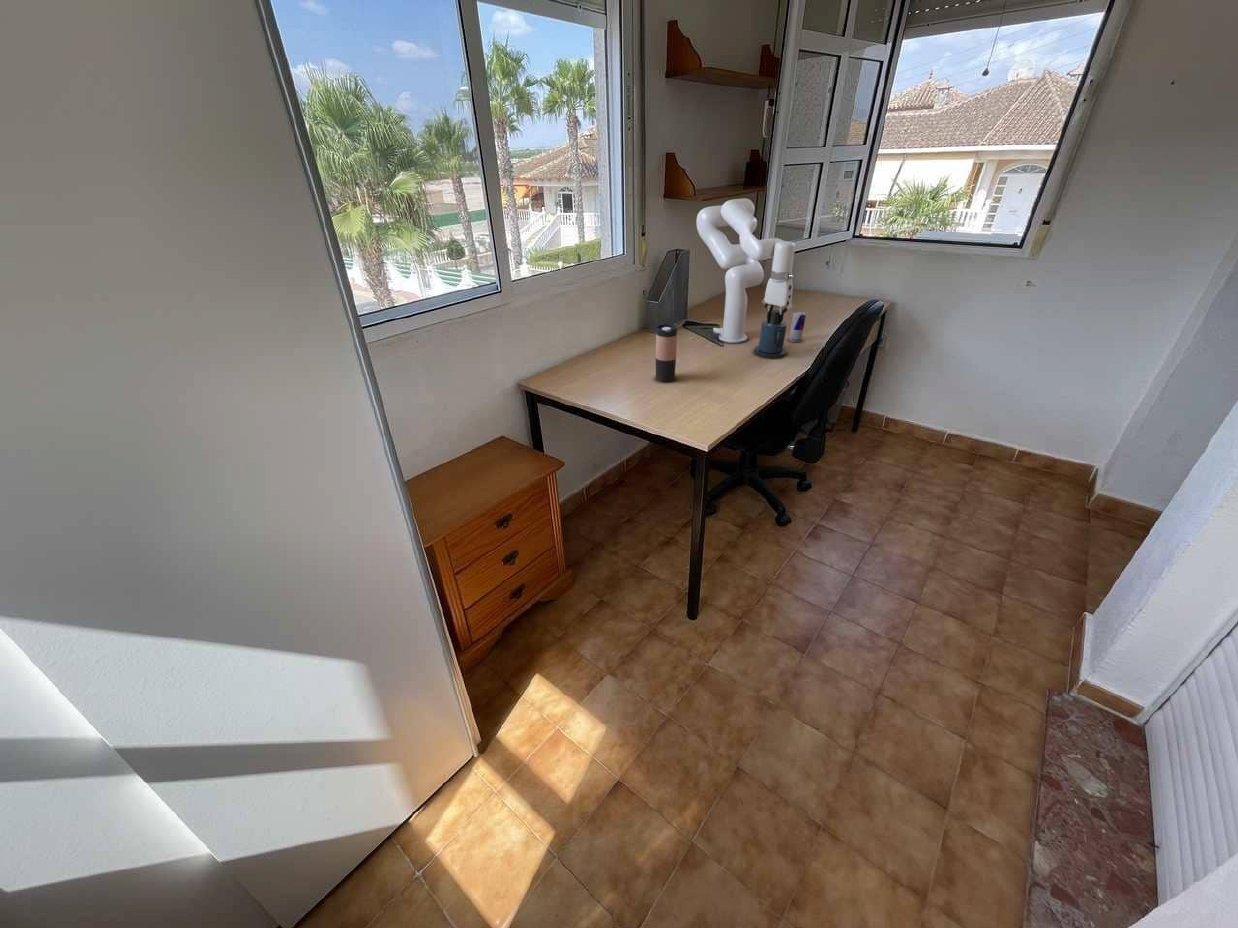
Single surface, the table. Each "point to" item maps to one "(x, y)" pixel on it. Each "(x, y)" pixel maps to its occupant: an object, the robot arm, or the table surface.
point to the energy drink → (797, 326)
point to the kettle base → (769, 355)
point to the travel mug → (666, 352)
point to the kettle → (772, 334)
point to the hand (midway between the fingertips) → (774, 321)
